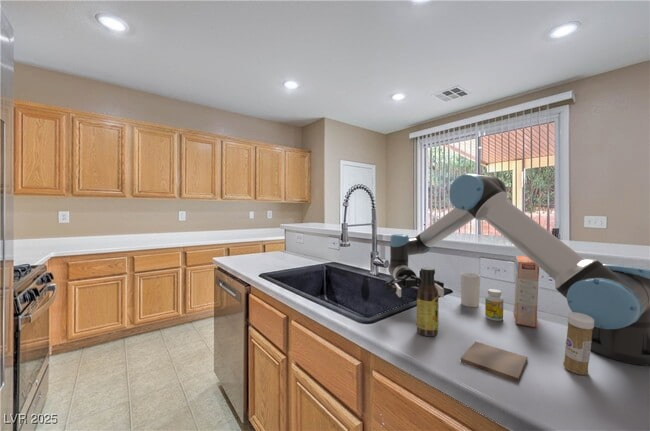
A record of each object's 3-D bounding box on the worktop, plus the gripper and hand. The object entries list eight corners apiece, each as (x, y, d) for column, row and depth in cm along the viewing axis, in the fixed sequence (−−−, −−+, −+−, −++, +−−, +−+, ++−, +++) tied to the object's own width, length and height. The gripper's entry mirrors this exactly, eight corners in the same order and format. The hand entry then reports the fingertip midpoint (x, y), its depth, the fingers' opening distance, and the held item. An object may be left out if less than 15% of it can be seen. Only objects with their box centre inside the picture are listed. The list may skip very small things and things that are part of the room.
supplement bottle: (506, 319, 98) (506, 291, 97) (497, 322, 95) (498, 293, 94) (490, 313, 102) (490, 287, 102) (481, 316, 99) (482, 289, 99)
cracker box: (538, 328, 90) (540, 263, 89) (515, 324, 93) (516, 261, 92) (533, 314, 102) (535, 256, 101) (513, 311, 105) (514, 254, 104)
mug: (474, 309, 107) (475, 277, 106) (457, 304, 112) (457, 274, 112) (486, 303, 113) (486, 273, 113) (468, 298, 118) (469, 270, 118)
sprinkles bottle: (558, 364, 69) (562, 312, 67) (573, 361, 70) (579, 310, 68) (577, 377, 65) (583, 322, 63) (594, 374, 66) (600, 320, 64)
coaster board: (527, 360, 71) (527, 356, 71) (518, 382, 63) (518, 378, 63) (475, 344, 80) (475, 341, 80) (460, 362, 71) (460, 358, 71)
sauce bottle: (440, 338, 83) (440, 271, 83) (417, 336, 85) (418, 270, 84) (436, 329, 90) (436, 266, 89) (415, 327, 91) (416, 265, 90)
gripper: (436, 286, 113) (460, 304, 91) (373, 285, 113) (382, 304, 92) (436, 267, 112) (460, 281, 91) (373, 267, 113) (382, 281, 92)
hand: (421, 293), depth 91 cm, fingers open, 13 cm apart
